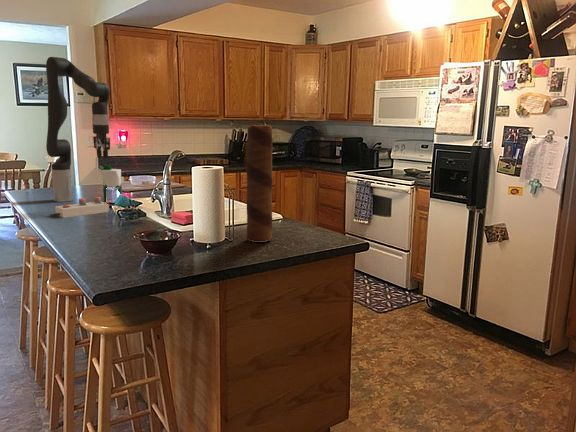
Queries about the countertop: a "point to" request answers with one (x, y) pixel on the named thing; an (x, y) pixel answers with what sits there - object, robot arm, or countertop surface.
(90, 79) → the robot arm
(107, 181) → the milk carton
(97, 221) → the countertop surface
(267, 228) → the wafer roll
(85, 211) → the button panel
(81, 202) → the button
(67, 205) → the button
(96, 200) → the button
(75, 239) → the countertop surface
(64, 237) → the countertop surface
